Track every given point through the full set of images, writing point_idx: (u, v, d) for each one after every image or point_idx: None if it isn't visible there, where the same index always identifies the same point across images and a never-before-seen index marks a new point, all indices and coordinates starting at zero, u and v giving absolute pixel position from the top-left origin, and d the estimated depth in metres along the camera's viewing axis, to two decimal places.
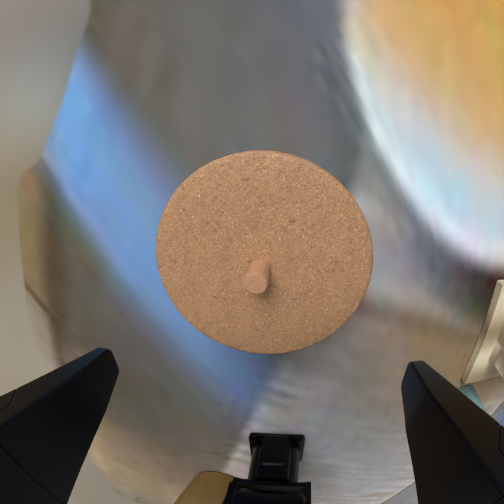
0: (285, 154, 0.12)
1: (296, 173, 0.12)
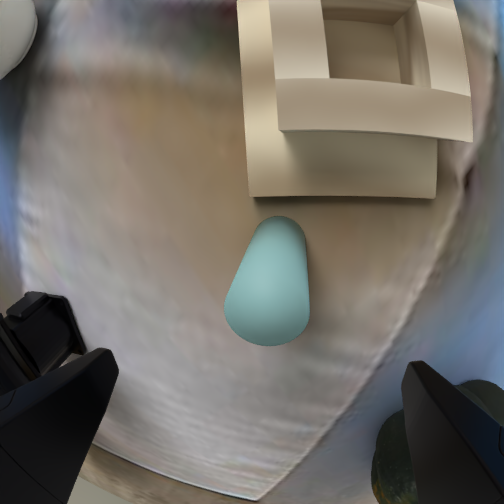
0: None
1: None
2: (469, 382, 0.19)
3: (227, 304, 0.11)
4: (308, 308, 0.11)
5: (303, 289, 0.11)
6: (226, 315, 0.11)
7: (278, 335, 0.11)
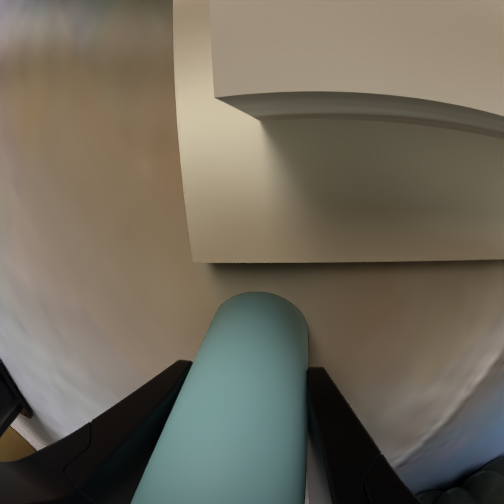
0: None
1: None
2: None
3: None
4: None
5: None
6: None
7: None
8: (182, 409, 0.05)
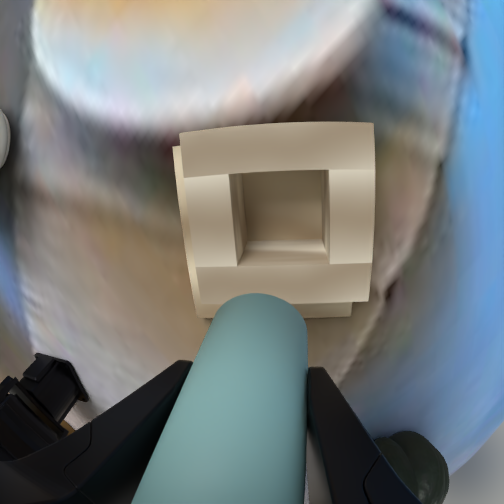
0: None
1: None
2: (402, 433, 0.24)
3: None
4: None
5: None
6: None
7: None
8: (182, 411, 0.05)
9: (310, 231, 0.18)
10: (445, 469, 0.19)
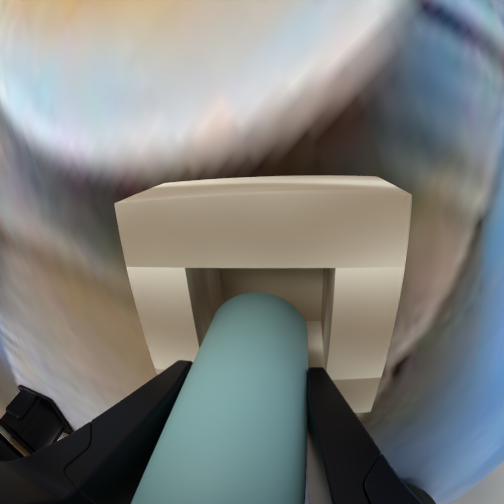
0: None
1: None
2: None
3: None
4: None
5: None
6: None
7: None
8: (182, 410, 0.05)
9: (306, 312, 0.14)
10: None
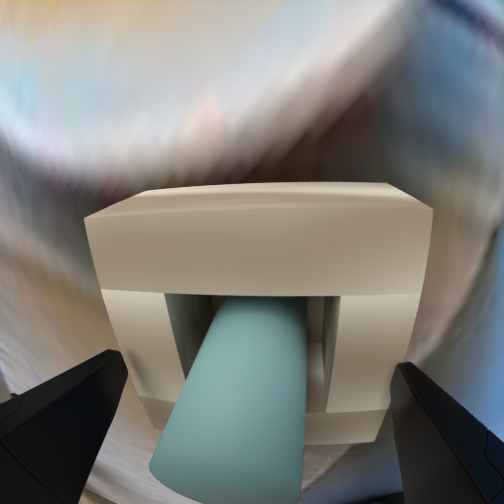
0: None
1: None
2: (398, 497, 0.19)
3: (154, 471, 0.05)
4: (298, 493, 0.04)
5: (290, 470, 0.04)
6: (157, 478, 0.05)
7: None
8: (210, 343, 0.07)
9: None
10: None
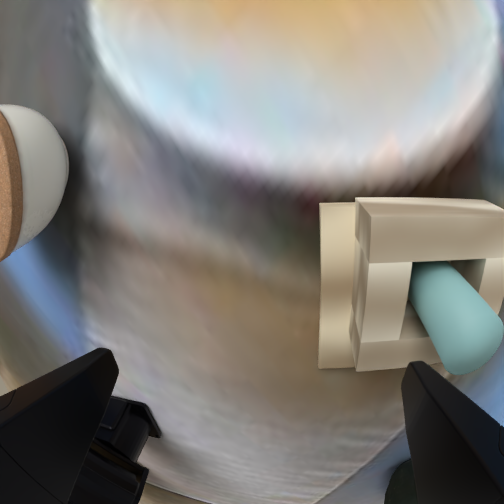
0: None
1: None
2: None
3: (449, 345, 0.09)
4: (501, 337, 0.09)
5: None
6: (444, 354, 0.10)
7: (475, 363, 0.10)
8: (436, 283, 0.12)
9: None
10: None
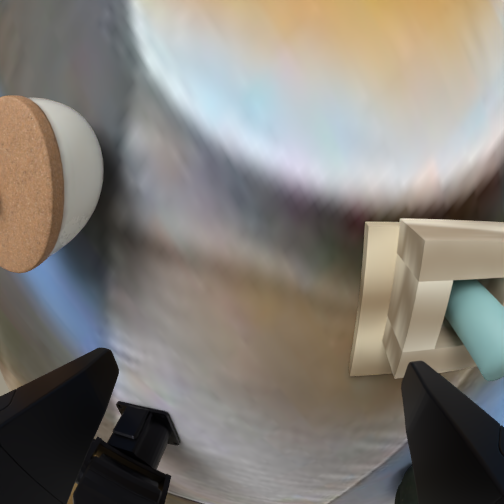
0: (3, 96, 0.10)
1: (4, 107, 0.10)
2: None
3: (489, 358, 0.10)
4: None
5: None
6: (485, 366, 0.10)
7: None
8: (473, 302, 0.13)
9: None
10: None
